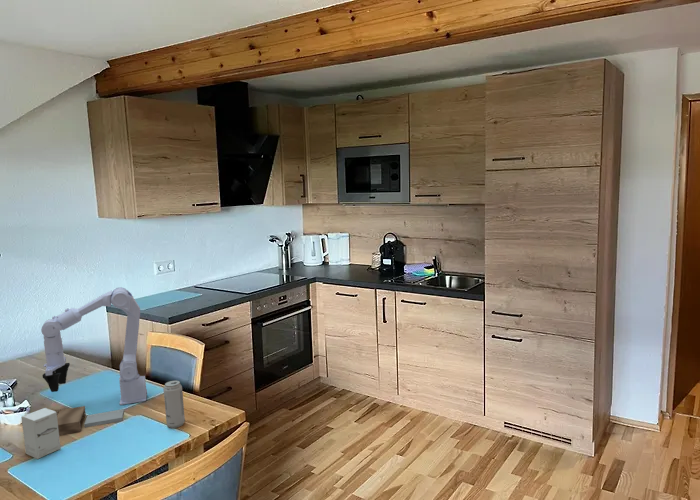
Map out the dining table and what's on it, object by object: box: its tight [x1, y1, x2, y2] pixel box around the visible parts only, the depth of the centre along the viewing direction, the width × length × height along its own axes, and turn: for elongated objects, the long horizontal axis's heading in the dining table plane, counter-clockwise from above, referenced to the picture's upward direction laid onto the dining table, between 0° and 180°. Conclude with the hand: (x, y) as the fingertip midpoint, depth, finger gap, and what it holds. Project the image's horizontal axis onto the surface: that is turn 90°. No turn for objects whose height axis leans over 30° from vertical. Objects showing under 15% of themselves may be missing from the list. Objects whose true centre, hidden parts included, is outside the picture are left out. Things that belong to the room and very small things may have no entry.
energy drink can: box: [163, 380, 186, 429], centre depth 177 cm, size 6×6×15 cm
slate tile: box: [83, 408, 125, 428], centre depth 184 cm, size 12×8×2 cm, turn 110°
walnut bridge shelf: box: [57, 405, 87, 436], centre depth 180 cm, size 8×14×4 cm, turn 20°
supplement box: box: [21, 407, 61, 460], centre depth 162 cm, size 7×7×13 cm
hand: (58, 387), depth 190 cm, fingers open, 7 cm apart
